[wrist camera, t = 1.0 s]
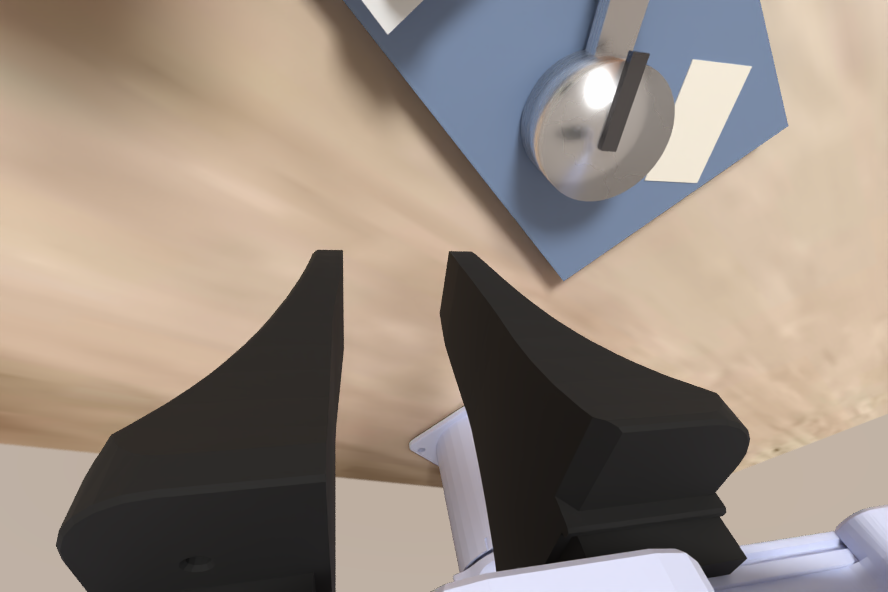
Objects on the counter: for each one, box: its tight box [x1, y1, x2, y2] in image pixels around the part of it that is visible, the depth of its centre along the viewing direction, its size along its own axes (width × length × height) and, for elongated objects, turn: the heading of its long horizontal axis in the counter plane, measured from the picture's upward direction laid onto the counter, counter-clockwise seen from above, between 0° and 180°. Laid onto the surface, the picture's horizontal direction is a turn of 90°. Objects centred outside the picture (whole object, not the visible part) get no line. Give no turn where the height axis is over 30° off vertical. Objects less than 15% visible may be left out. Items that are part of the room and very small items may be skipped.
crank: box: [521, 0, 675, 201], centre depth 15 cm, size 9×5×4 cm, turn 174°
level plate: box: [343, 0, 788, 281], centre depth 16 cm, size 18×12×4 cm, turn 39°
